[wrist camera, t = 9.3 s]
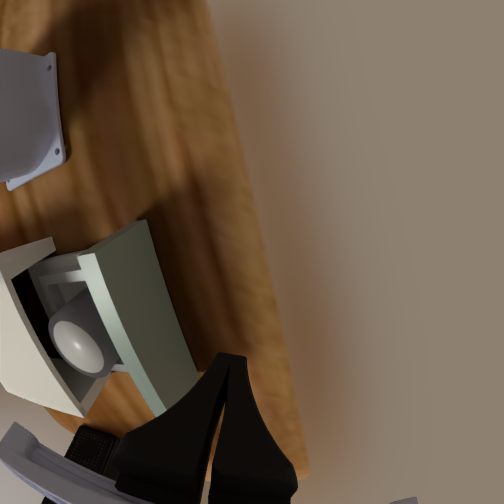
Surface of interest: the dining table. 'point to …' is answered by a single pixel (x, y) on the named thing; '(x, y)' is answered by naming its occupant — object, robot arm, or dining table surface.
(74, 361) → the grey cylinder white face
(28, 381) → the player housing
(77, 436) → the portable radio
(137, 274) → the grey green drawer
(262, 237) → the dining table surface
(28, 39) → the dining table surface
